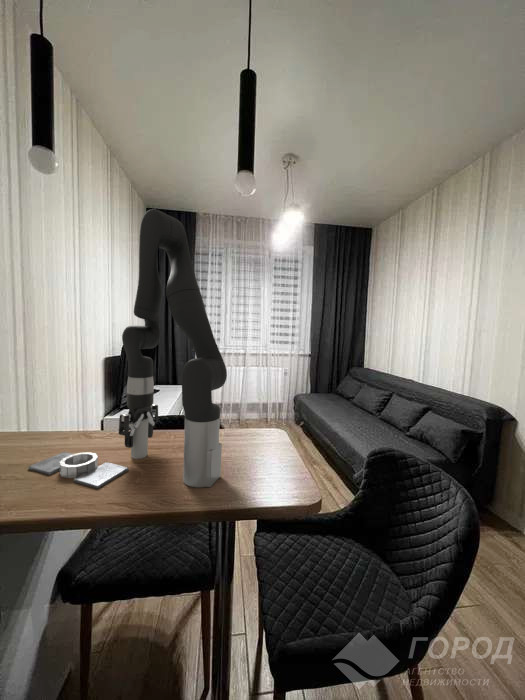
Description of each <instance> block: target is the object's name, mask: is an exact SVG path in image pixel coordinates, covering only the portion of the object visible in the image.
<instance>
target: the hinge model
mask: <svg viewBox="0 0 525 700" xmlns="http://www.w3.org/2000/svg"><path fill="white" fill-rule="evenodd" d="M98 457H99V456H98V455H97V453H94V452H90V451H89V452H87V451H86V452H78V453H72V452H71V453H70V452H66V451H63V452H61V453H58V454H55V455H53V456H50V457H48V458H45V459H44V460H43V459H42V460H40V461H38V462H36V463H33V464H30V465H29V466H28V470H31V471H34V472H37V473H40V474H45V475H47V476H50V475H53V474H55V473H57V472H59V476H60V477H61V478H66V479H73V483H76V484H79V485H83V486H86V487H90V488H94V489H97V490H98V489H100V488H102V487H103V486H106V484H108V483H110V482H111V481H113V480H115V479H116V478H119V476H121V475H123V474H125V473H126V472H128V471H129V467H128V466H123V465H120V464H116V463H111V462H107V461H106V462H103V463H102V464H100V465H98V464H99V463H98V462H99V461H98Z"/></svg>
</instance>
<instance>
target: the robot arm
mask: <svg viewBox="0 0 525 700" xmlns="http://www.w3.org/2000/svg"><path fill="white" fill-rule="evenodd" d="M186 232H187V231H186V229H185V226H184V224H183V223H182V222H181V221H180V220H179V219H177V218H175V217H174V216H171V215H169V214H167V213H165V212H163V211H160V210H158V209H156V208H152V209H149V210H147V211H146V212H145V213H144V214H143V216H142V217H141V222H140V226H139V241H138V242H139V243H138V244H139V245H138V246H139V247H138V248H139V249H138V280H137V281H138V282H137V291H136V295H135V299H134V300H135V301H134V307H133V314H134V316H135V317H137V318H139V319H142V320H143V321H144V325H128V326H126V327H125V328H124V329H123V332H122V335H121V341H122V345H123V348H124V352H125V355H126V356H125V357H126V359H127V364H128V365H127V366H128V367H127V368H128V373H127V374H128V376H127V383H126V407H127V408H128V412H127V413H126V414H124V413H123V414H122V413H121V414H119V419H118V435H119V436H124V446H125V448H129V449H131V447H133V433H134V431H135V429H137V428H138V426H139V423H140V421H141V420H143V419H146V418H148V439H151V438H152V437H153V435H154V426H155V425H156V423H158V421H159V405H158V404H156V403H155V404H154V395H155V394H154V393H155V392H154V389H155V388H154V386H155V383H154V360H153V358H151V357H150V356H145V355H143V354H142V351H141V350H147V349H149V350H150V349H151V350H152V349H154V348H156V347H157V346H158V345H159V342H160V340H161V327H160V326H161V325H160V312H161V311H160V310H161V305H162V302H163V301H162V300H163V295H164V294H163V284H162V282H161V281H162V280H161V278H160V273H159V270H158V269H159V268H158V252H159V249H162V250H164V251H165V252H166V254H167V257H168V260H169V261H168V262H169V264H170V273H169V277H168V280H167V283H166V289H165V296H166V300H167V303H168V307H169V311H170V313H171V316H172V318H173V320H174V322H175V323H176V325H177V326H178V328H180V330H181V331H182V332H183V334H185V336H186V337H187V338H188V340H189V342H190V343H191V345H192V347H193V350H194V354H195V356H196V358H192V359H190V360H188V361H186V363H185V364H184V366H183V369H182V373H181V401H182V402H181V404H182V408H183V410H184V430H183V431H184V436H183V437H184V438H183V439H184V440H183V468H182V469H183V470H182V474H183V475H182V481H183V483H184V484H185V485H187V486H189V487H192V488H205V487H206V488H212V486H213V485H214V484H215V483H216V482H217V481H218V479H220V477H221V476H222V475H221V474H222V473H221V471H222V470H221V468H222V452H223V451H222V446H223V445H222V443H221V442H220V423H221V421H220V420H221V407H220V406H219V405H218V404H216V403H214V402H213V399H212V398H213V396H212V393H213V392H212V391H215V390H218V389H220V388H222V387H223V386H224V385H225V384H226V381H227V377H228V373H227V367H226V363H225V360H224V359H223V356H222V354H221V352H220V349H219V346H218V344H217V341H216V339H215V336H214V333H213V331H212V330H213V329H212V326H211V324H210V320H209V318H208V314H207V310H206V306H205V303H204V300H203V297H202V293H201V290H200V286H199V284H198V281H197V276H196V273H195V270H194V267H193V266H194V265H193V262H192V258H191V254H190V247H189V241H188V237H187V233H186ZM131 423H135V424H134V425H132V424H131Z"/></svg>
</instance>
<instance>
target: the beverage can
mask: <svg viewBox="0 0 525 700" xmlns="http://www.w3.org/2000/svg"><path fill="white" fill-rule="evenodd" d="M131 424H132V425H134V424H135V423H132V422H131ZM148 447H149V438H148V418H146V419H143V420H141V421H140V423H139V426H138V428H137V429H135V431H134V433H133V447H131V448H130V456H131V458H132V459H133V460H141V459H144V458H147V456H148V452H149V451H148V450H149V449H148Z"/></svg>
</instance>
